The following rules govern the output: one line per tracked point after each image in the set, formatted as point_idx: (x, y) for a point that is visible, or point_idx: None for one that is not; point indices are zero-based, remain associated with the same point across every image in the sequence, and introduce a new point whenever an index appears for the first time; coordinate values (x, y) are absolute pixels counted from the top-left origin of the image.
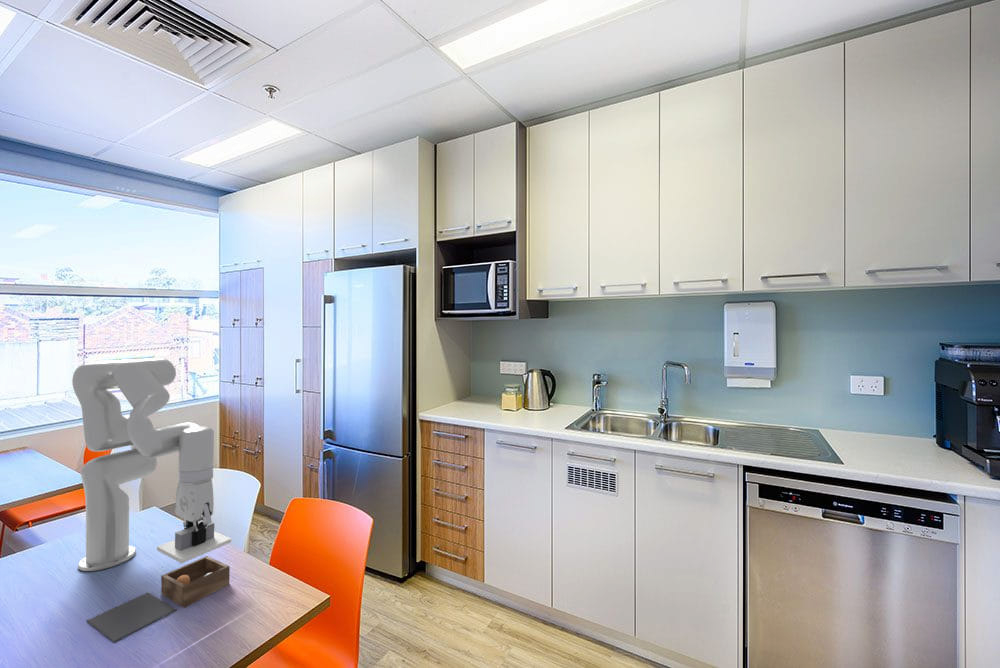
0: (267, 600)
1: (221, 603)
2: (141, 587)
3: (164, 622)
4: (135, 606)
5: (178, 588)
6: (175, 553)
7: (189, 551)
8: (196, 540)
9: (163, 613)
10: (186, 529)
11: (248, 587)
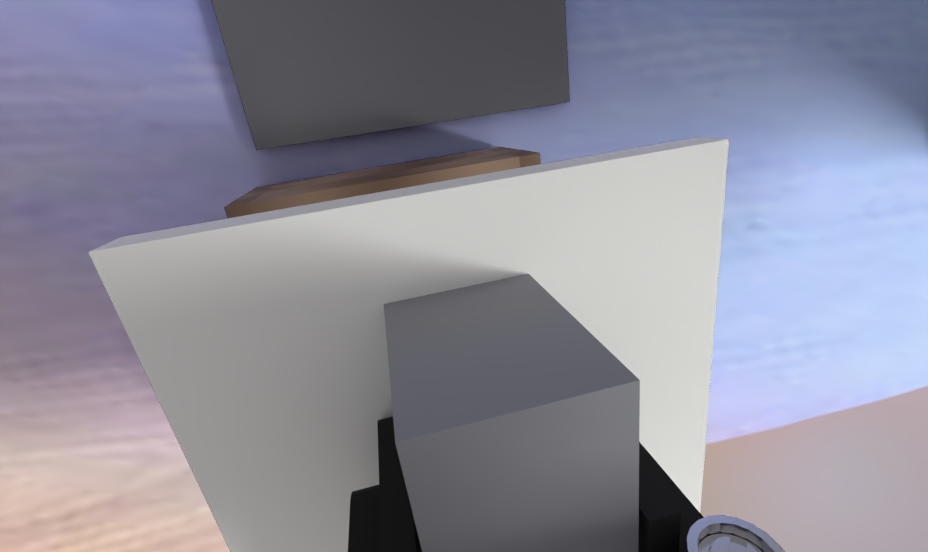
0: (3, 489)
1: None
2: (659, 103)
3: (183, 71)
4: (472, 6)
5: (309, 189)
6: (358, 241)
7: (284, 368)
8: (377, 496)
9: (261, 87)
10: (599, 529)
11: None
